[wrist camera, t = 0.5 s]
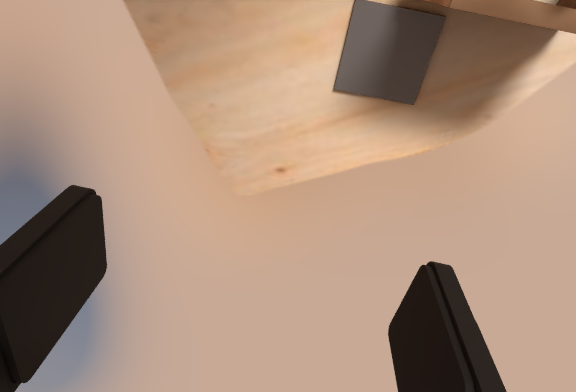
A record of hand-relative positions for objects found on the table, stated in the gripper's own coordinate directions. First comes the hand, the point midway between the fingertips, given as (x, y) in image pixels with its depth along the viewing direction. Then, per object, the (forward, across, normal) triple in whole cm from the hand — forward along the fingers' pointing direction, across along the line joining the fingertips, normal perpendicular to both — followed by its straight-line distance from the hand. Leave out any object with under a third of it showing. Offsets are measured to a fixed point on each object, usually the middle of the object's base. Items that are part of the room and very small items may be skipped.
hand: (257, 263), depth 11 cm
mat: (+29, -8, -2) cm, 30 cm away
